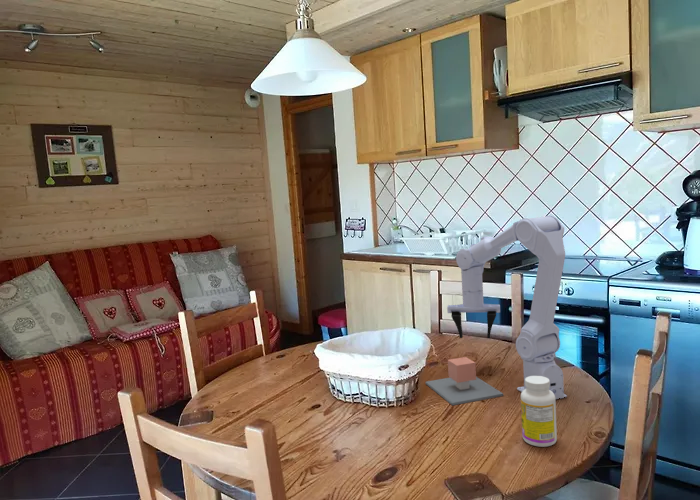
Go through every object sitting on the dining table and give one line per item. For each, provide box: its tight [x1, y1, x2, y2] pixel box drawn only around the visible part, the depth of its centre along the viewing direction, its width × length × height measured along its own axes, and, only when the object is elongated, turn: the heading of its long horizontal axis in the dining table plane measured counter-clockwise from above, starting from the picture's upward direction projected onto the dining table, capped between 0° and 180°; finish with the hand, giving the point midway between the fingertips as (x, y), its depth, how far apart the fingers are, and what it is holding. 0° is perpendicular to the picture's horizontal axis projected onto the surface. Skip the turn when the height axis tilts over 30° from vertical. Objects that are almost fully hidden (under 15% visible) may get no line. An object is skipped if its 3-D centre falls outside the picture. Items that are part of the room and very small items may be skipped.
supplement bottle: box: [520, 376, 558, 448], centre depth 105 cm, size 7×7×13 cm
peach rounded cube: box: [447, 356, 477, 383], centre depth 134 cm, size 5×5×4 cm
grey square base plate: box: [425, 376, 504, 406], centre depth 135 cm, size 16×14×4 cm
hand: (474, 337), depth 147 cm, fingers open, 7 cm apart
